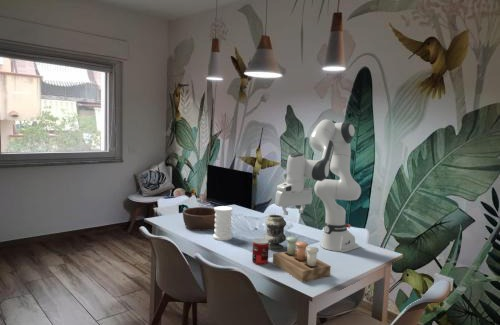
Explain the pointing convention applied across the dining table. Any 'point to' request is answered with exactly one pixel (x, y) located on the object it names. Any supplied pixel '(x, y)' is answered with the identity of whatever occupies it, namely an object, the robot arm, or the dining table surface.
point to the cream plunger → (311, 255)
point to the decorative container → (222, 223)
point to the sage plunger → (291, 245)
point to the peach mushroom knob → (301, 250)
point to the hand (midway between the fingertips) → (293, 214)
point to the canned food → (260, 251)
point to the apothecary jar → (275, 231)
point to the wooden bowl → (199, 218)
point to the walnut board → (301, 267)
